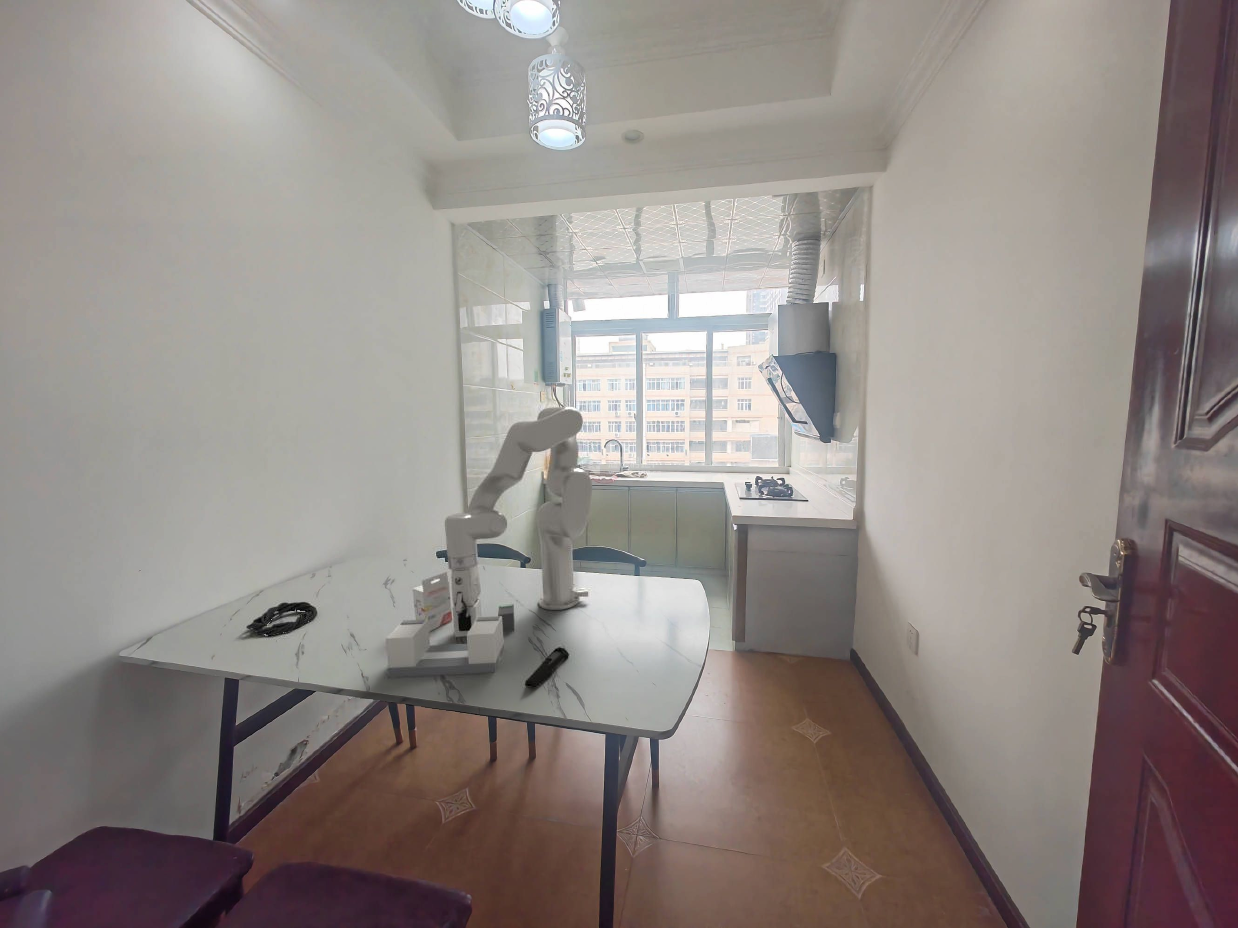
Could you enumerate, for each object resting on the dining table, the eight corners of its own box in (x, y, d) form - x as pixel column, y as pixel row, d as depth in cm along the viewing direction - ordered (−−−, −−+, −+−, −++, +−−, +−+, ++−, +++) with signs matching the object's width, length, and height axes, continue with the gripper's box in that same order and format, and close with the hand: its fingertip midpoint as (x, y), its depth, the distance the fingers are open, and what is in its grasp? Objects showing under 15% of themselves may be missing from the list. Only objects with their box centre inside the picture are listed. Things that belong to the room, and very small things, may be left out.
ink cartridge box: (441, 616, 135) (438, 568, 133) (452, 620, 132) (449, 571, 130) (415, 628, 127) (411, 577, 126) (426, 633, 125) (422, 580, 123)
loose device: (514, 620, 131) (513, 603, 130) (514, 630, 125) (513, 611, 124) (500, 622, 130) (498, 604, 129) (499, 632, 124) (498, 613, 124)
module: (482, 626, 127) (480, 597, 126) (477, 635, 122) (475, 605, 121) (460, 627, 127) (458, 599, 126) (454, 636, 122) (452, 606, 121)
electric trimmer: (520, 691, 98) (519, 678, 97) (556, 654, 112) (556, 642, 112) (535, 695, 96) (534, 681, 96) (570, 657, 111) (569, 645, 110)
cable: (294, 609, 144) (293, 596, 143) (333, 611, 141) (331, 598, 141) (240, 635, 127) (238, 620, 127) (283, 638, 124) (281, 623, 124)
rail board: (504, 649, 115) (502, 614, 114) (495, 672, 105) (492, 633, 104) (406, 654, 114) (403, 618, 113) (388, 677, 104) (384, 638, 103)
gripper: (468, 570, 114) (473, 640, 116) (485, 549, 131) (490, 610, 133) (437, 572, 113) (443, 641, 116) (458, 551, 130) (463, 612, 132)
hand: (468, 624), depth 124 cm, fingers closed on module, 5 cm apart
